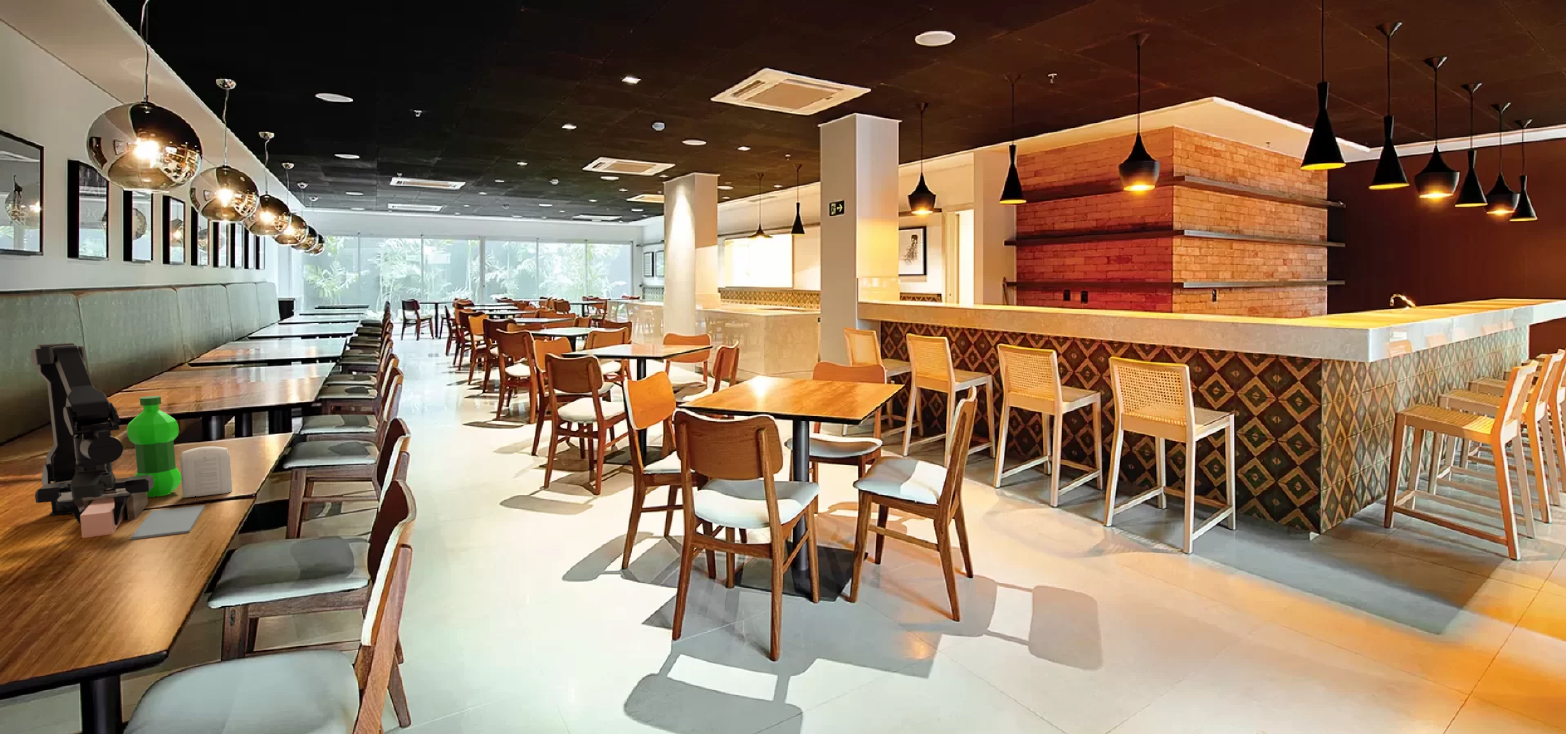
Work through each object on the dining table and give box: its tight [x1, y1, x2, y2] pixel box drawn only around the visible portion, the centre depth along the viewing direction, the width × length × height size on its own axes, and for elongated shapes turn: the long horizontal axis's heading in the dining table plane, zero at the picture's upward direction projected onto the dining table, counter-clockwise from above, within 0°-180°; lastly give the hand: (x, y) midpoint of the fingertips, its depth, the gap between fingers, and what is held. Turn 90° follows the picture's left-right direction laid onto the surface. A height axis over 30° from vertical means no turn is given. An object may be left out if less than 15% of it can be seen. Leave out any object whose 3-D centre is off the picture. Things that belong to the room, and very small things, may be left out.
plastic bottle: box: [126, 395, 182, 498], centre depth 197 cm, size 10×10×25 cm
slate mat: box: [130, 504, 206, 540], centre depth 176 cm, size 10×21×1 cm, turn 29°
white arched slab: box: [179, 445, 233, 499], centre depth 198 cm, size 10×4×12 cm, turn 123°
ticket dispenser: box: [82, 477, 149, 521], centre depth 181 cm, size 9×14×7 cm, turn 29°
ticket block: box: [80, 498, 128, 539], centre depth 174 cm, size 5×17×5 cm, turn 32°
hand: (100, 526), depth 170 cm, fingers closed on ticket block, 5 cm apart
